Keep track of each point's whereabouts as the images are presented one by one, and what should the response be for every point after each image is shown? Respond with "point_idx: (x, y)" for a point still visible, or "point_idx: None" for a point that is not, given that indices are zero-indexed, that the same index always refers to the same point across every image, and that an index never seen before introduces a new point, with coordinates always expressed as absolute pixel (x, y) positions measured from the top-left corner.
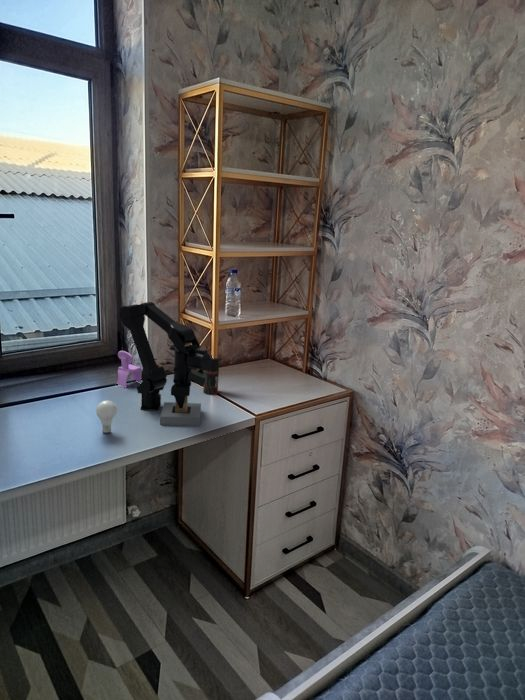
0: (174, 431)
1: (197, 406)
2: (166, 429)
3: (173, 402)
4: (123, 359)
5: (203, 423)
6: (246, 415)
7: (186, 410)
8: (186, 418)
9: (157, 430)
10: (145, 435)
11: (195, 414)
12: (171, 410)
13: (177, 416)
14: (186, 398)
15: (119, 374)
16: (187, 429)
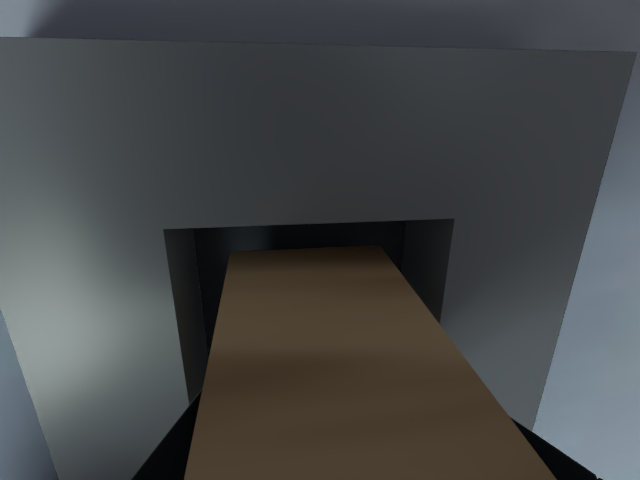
0: (615, 302)
1: (124, 110)
2: (563, 365)
3: (57, 475)
4: None
5: (474, 2)
6: None
7: (405, 284)
8: (570, 245)
9: (568, 418)
10: (629, 464)
11: (497, 129)
12: None
13: (532, 355)
14: (537, 476)
15: None
16: (602, 193)
